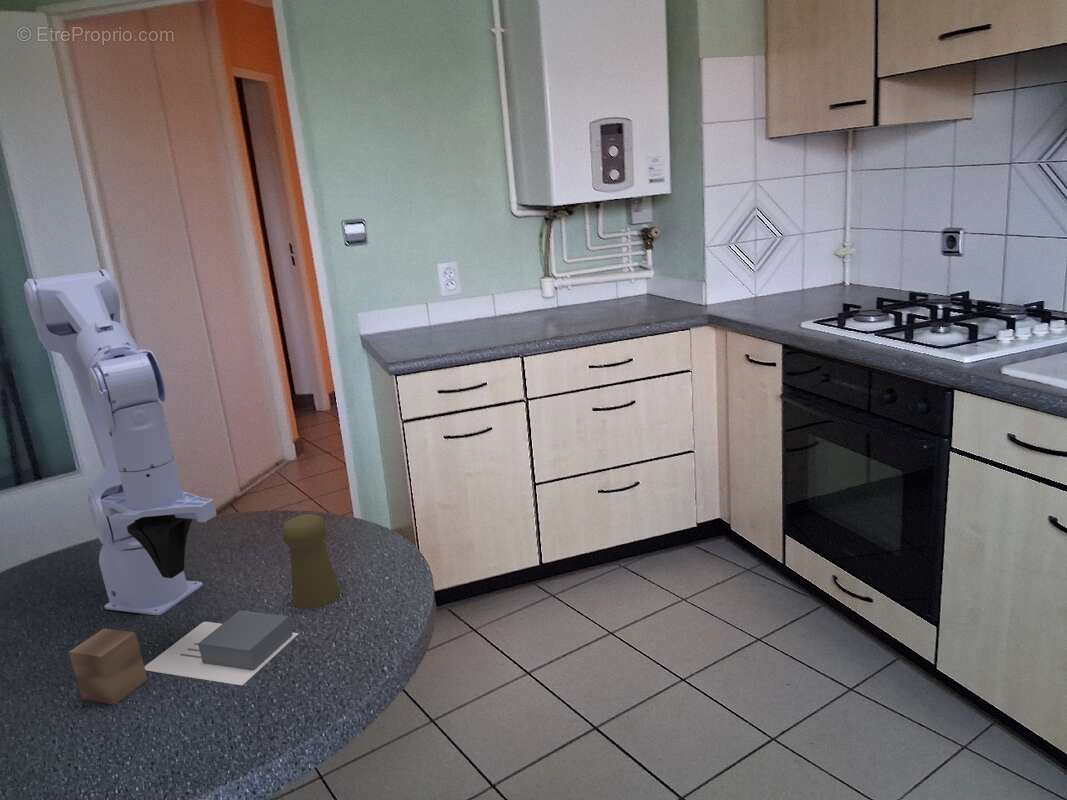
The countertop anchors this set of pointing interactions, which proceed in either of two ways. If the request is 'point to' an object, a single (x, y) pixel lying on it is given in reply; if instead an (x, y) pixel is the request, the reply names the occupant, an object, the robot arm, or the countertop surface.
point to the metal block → (245, 640)
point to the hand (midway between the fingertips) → (173, 573)
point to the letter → (189, 662)
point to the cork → (310, 562)
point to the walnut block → (108, 666)
